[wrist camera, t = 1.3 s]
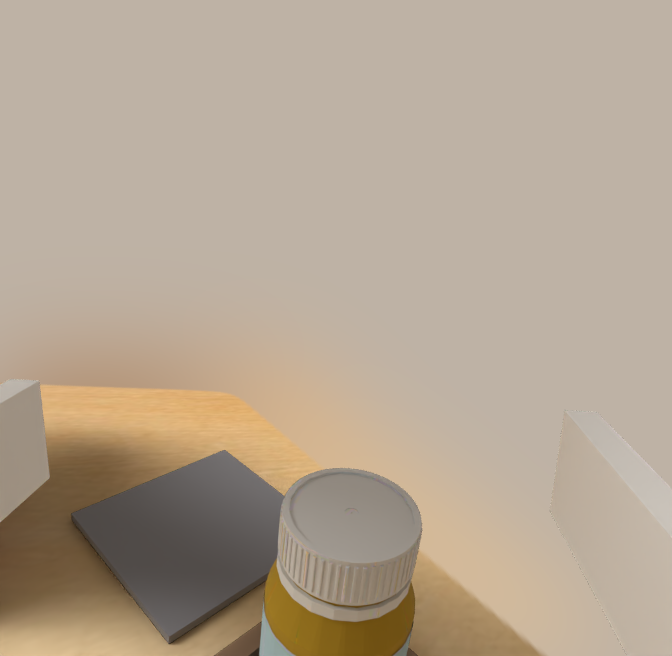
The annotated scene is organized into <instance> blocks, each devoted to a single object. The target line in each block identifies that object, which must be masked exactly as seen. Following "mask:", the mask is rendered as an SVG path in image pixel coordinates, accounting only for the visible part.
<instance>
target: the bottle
mask: <svg viewBox="0 0 672 656" xmlns="http://www.w3.org/2000/svg"><path fill="white" fill-rule="evenodd" d="M421 533H422V522H421V516H420V512H419V509H418V507H417V505H416V503H415V502H414V500H413V499H412V498H411V497H410V495H409V494H408V493H407V492H406V491H405V490H403V489H402V488H401V487H400V486H398V485H397V484H395V483H394V482H392V481H390V480H388V479H386V478H384V477H381V476H380V475H377V474H374V473H371V472H367V471H363V470H358V469H349V468H333V469H325V470H321V471H317V472H314V473H311V474H308V475H306V476H304V477H303V478H301V479H299V480H298V481H297V482H295V483H294V484H293V485H292V486H291V487H290V489H289V490H288V491H287V493H286V495H285V497H284V500H283V503H282V505H281V511H280V523H279V534H278V555H277V559H276V560H275V562H274V564H273V566H272V567H271V569H270V572H269V575H268V578H267V580H266V585H265V592H264V601H263V613H262V626H261V639H260V651H259V656H406V655H407V650H408V645H409V641H410V636H411V631H412V627H413V619H414V614H415V596H414V591H413V587H412V583H411V579H412V574H413V571H414V568H415V564H416V559H417V554H418V549H419V544H420V539H421Z"/></svg>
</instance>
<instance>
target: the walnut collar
mask: <svg viewBox="0 0 672 656" xmlns="http://www.w3.org/2000/svg"><path fill="white" fill-rule="evenodd" d="M261 626H262V622H260V623H259V624H257V625H256V626H255V627H253V628H252V629H251V630H249V631H248V632H246V633H245V634H244V635H242V636H241V637H239V638H238V639H237V640H235V641H234V642H232V643H231V644H230V645H228V646H227V647H225V648H224V649H223V650H221V651H220V652H218V653H217V654H216V655H214V656H259V651H260V639H261ZM406 656H418V655H417V654H415V653H414V652H413V651H412V650H411V649H410V648H408V650H407V655H406Z"/></svg>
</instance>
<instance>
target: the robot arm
mask: <svg viewBox="0 0 672 656" xmlns="http://www.w3.org/2000/svg"><path fill="white" fill-rule="evenodd" d="M49 478H50V474H49V465H48V456H47V446H46V437H45V428H44V419H43V410H42V400H41V391H40V382H39V381H36V380H17V379H10V380H8V381H6V382H4V383H2V384H0V522H1V521H2V520H3V519H5V518H6V517H7V516H8V515H9V514H10V513H11V512H12V511H13V510H15V509H16V508H17V507H18V506H19V505H20V504H21V503H22V502H23V501H25V500H26V499H27V498H28V497H29V496H30V495H31V494H32V493H34V492H35V491H36V490H37V489H38V488H39V487H40V486H41V485H42V484H44V483H45V482H46V481H47V480H48V479H49ZM550 513H551V515H552V516H553V518H554V520H555V522H556V524H557V526H558V528H559V530H560V531H561V533H562V535H563V537H564V539H565V541H566V543H567V544H568V546H569V548H570V550H571V552H572V554H573V556H574V558H575V559H576V561H577V563H578V565H579V567H580V569H581V571H582V573H583V574H584V576H585V578H586V580H587V582H588V584H589V586H590V587H591V589H592V591H593V593H594V595H595V597H596V599H597V600H598V602H599V604H600V606H601V608H602V610H603V612H604V614H605V616H606V618H607V619H608V621H609V623H610V625H611V627H612V628H613V631H614V633H615V634H616V636H617V638H618V640H619V642H620V644H621V646H622V648H623V649H624V651H625V653H626V655H627V656H672V488H671V487H670V486H669V485H668V484H667V483H665V481H664V480H663V479H662V478H661V477H660V476H659V475H658V474H657V473H656V472H655V471H654V470H653V469H652V468H651V467H650V466H649V465H648V464H647V463H646V462H645V461H644V460H643V459H642V458H641V457H640V456H639V455H638V453H637V452H636V451H635V450H634V449H633V448H632V447H630V445H629V444H628V443H627V442H626V441H625V440H624V439H623V438H622V437H621V436H620V435H619V434H618V433H617V432H616V431H615V430H614V429H613V428H612V427H611V426H610V425H609V424H608V423H607V422H606V421H605V420H604V419H603V418H602V417H601V416H600V415H599V414H598V413H597V412H586V411H568V410H565V411H564V418H563V425H562V431H561V438H560V445H559V452H558V458H557V465H556V472H555V479H554V487H553V492H552V500H551V506H550Z"/></svg>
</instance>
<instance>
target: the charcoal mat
mask: <svg viewBox="0 0 672 656" xmlns="http://www.w3.org/2000/svg"><path fill="white" fill-rule="evenodd" d="M284 497H285V496H283V495H282V494H281V493H280V492H278V491H277V490H276V489H274V488H273V487H272V486H271V485H269V484H268V483H267V482H265V481H264V480H263V479H262V478H260V477H259V476H258V475H256V474H255V473H254V472H252V471H251V470H250V469H249V468H247V467H246V466H245V465H243V464H242V463H241V462H240V461H238V460H237V459H236V458H234V457H233V456H232V455H231V454H229V453H228V452H227V451H225V450H223V451H220V452H218V453H216V454H213V455H211V456H208V457H206V458H204V459H201V460H199V461H196V462H194V463H192V464H189V465H187V466H184V467H182V468H180V469H177V470H175V471H172V472H170V473H168V474H165V475H163V476H160V477H158V478H156V479H153V480H151V481H148V482H146V483H143V484H141V485H139V486H136V487H134V488H131V489H129V490H127V491H124V492H122V493H119V494H117V495H115V496H112V497H110V498H107V499H105V500H103V501H100V502H98V503H95V504H93V505H91V506H88V507H86V508H83V509H81V510H79V511H76V512H74V513H71V516H72V521H73V522H74V523H75V525H76V526H77V527H78V528H79V530H80V531H81V532H82V534H83V535H84V536H85V537H86V539H87V540H88V541H89V543H90V544H91V545H92V546H93V548H94V549H95V550H96V551H97V553H98V554H99V555H100V557H101V558H102V559H103V560H104V562H105V563H106V564H107V566H108V567H109V568H110V569H111V571H112V572H113V573H114V574H115V576H116V577H117V578H118V580H119V581H120V582H121V583H122V585H123V586H124V587H125V589H126V590H127V591H128V592H129V594H130V595H131V596H132V598H133V599H134V600H135V601H136V603H137V604H138V605H139V606H140V608H141V609H142V610H143V612H144V613H145V614H146V615H147V617H148V618H149V619H150V621H151V622H152V623H153V624H154V626H155V627H156V628H157V629H158V631H159V632H160V633H161V635H162V636H163V637H164V638H165V640H166V641H167V642H168V644H170V643H171V642H173V641H174V640H176V639H177V638H179V637H180V636H182V635H183V634H185V633H186V632H188V631H189V630H191V629H193V628H194V627H196V626H197V625H199V624H200V623H202V622H203V621H205V620H206V619H208V618H209V617H211V616H212V615H214V614H215V613H217V612H218V611H220V610H222V609H223V608H225V607H226V606H228V605H229V604H231V603H232V602H234V601H235V600H237V599H238V598H240V597H241V596H243V595H244V594H246V593H247V592H249V591H250V590H252V589H254V588H255V587H257V586H258V585H260V584H261V583H263V582H264V581H266V580H267V578H268V575H269V572H270V569H271V567H272V566H273V564H274V562H275V560H276V559H277V555H278V534H279V523H280V511H281V505H282V503H283V500H284Z"/></svg>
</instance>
